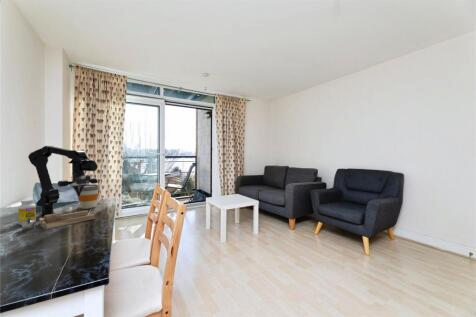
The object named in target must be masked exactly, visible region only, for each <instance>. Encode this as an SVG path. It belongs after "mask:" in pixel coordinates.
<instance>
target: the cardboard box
mask: <svg viewBox="0 0 476 317" xmlns="http://www.w3.org/2000/svg"><path fill="white" fill-rule="evenodd" d="M62 215H63V214H61V213H60V212H55V214H50V215H44V216H43V218H45V222H46V223H51V222H56V221H62Z"/></svg>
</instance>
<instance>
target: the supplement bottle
mask: <svg viewBox="0 0 476 317" xmlns="http://www.w3.org/2000/svg"><path fill="white" fill-rule="evenodd" d="M33 202H34V199H33V198H26V199H22V200H20V205H19V206H18V225H19V226H20V225H21V226H22V222H23V221H26V219H28V217H30V220H34V223H36V222H37V219H36V218H37V212H36V210H37V209H36V207H37V205H36V203H33Z"/></svg>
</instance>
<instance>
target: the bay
mask: <svg viewBox="0 0 476 317" xmlns="http://www.w3.org/2000/svg"><path fill="white" fill-rule="evenodd" d="M88 213H89V211H88V210H82V211H81V210H80V211H76V212H71V213H65V214H61V215H62V221H56V222H51V223H46V222H45V217H39V218H38V220H39V221H38V222H39V225H40V226H41V228H42V229H43V230H48V229H53V228H57V227H62V226H66V225H67V226H68V225H72V224H77V223H81V222H86V221H91V220H95V214H94V213H93V214H88Z"/></svg>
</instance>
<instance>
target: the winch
mask: <svg viewBox="0 0 476 317" xmlns="http://www.w3.org/2000/svg"><path fill="white" fill-rule="evenodd" d="M33 229H35V222H34V220H30V217H28V219H26V221H23V222H22V225H21V231H22V232H23V231H31V230H33Z"/></svg>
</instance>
